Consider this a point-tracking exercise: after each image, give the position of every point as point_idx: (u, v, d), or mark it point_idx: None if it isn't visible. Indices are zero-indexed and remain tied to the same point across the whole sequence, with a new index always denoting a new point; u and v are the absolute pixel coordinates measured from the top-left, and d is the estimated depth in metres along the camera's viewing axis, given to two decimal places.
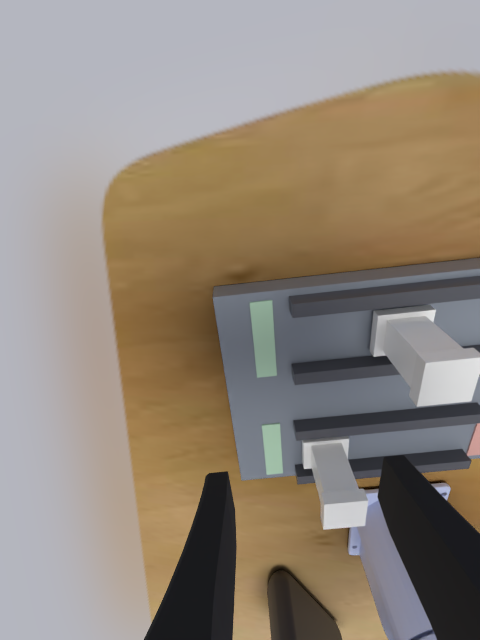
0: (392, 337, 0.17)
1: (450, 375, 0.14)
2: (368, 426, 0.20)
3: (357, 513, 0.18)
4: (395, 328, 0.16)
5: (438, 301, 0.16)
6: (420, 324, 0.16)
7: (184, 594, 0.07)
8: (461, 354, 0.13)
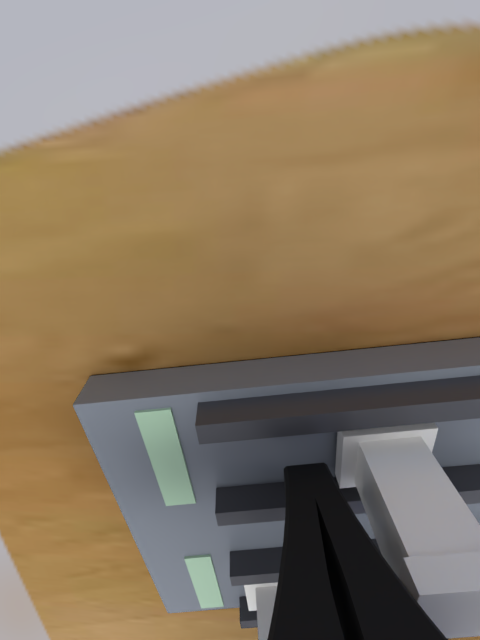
0: (366, 476, 0.10)
1: (467, 607, 0.07)
2: None
3: None
4: (370, 466, 0.10)
5: (440, 420, 0.10)
6: (412, 459, 0.10)
7: (299, 584, 0.07)
8: None
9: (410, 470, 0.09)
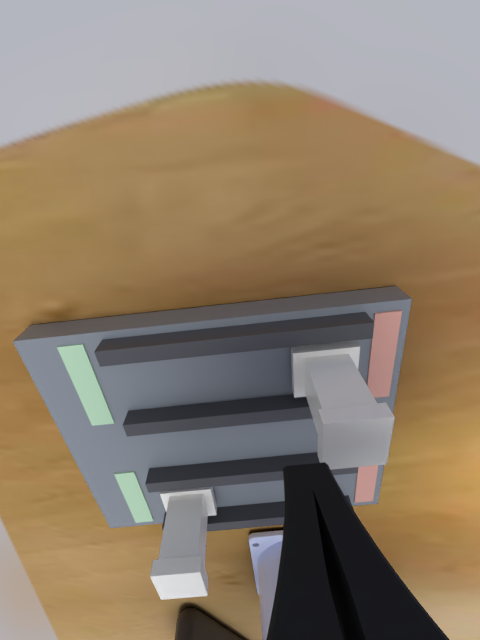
0: (308, 379, 0.14)
1: (356, 437, 0.11)
2: (226, 477, 0.18)
3: (193, 584, 0.16)
4: (309, 370, 0.14)
5: (266, 348, 0.14)
6: (339, 365, 0.14)
7: (298, 584, 0.07)
8: (368, 412, 0.11)
9: (336, 371, 0.14)
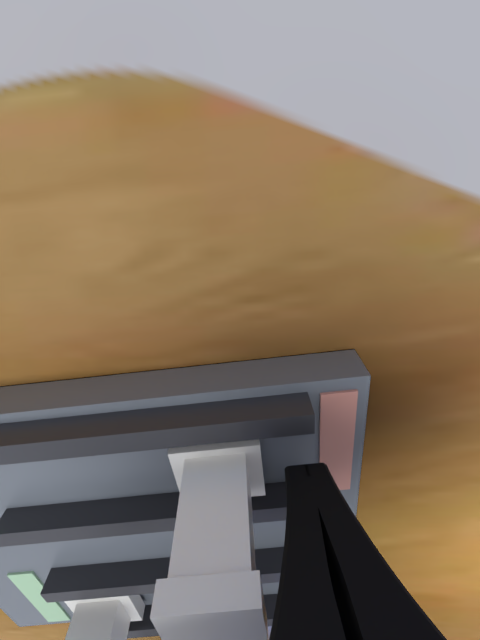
0: None
1: (210, 628, 0.07)
2: (144, 585, 0.14)
3: None
4: (182, 484, 0.10)
5: (166, 447, 0.10)
6: (224, 477, 0.10)
7: (301, 584, 0.07)
8: (226, 593, 0.07)
9: (216, 488, 0.10)
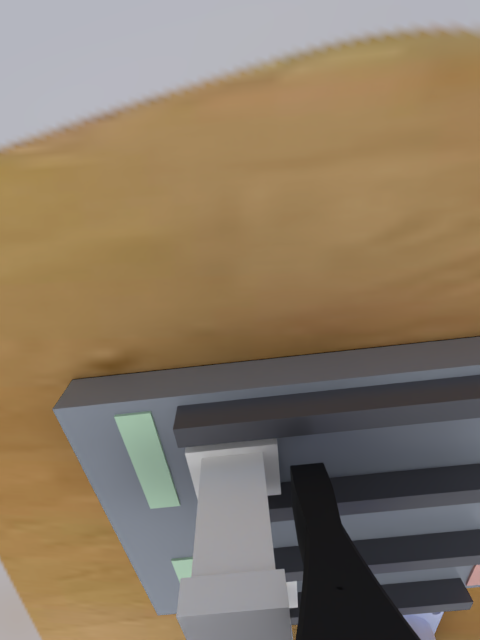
0: None
1: (236, 627, 0.07)
2: None
3: None
4: (200, 483, 0.10)
5: (418, 422, 0.10)
6: (242, 476, 0.10)
7: (325, 582, 0.07)
8: (252, 591, 0.07)
9: (235, 487, 0.09)
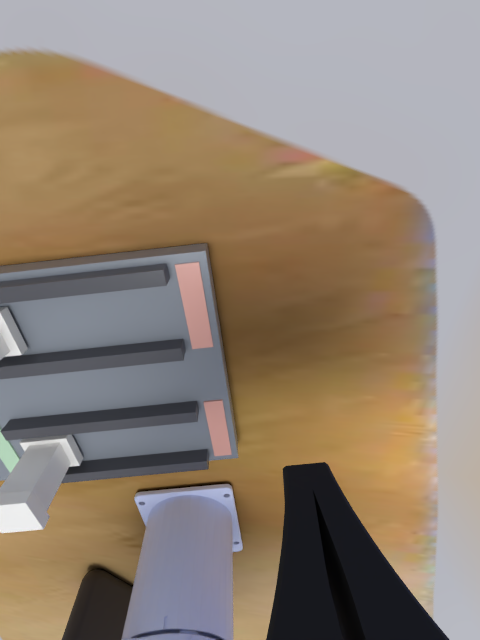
0: None
1: None
2: (75, 425, 0.20)
3: (24, 516, 0.17)
4: None
5: (72, 294, 0.16)
6: None
7: (298, 584, 0.07)
8: None
9: None
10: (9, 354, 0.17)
